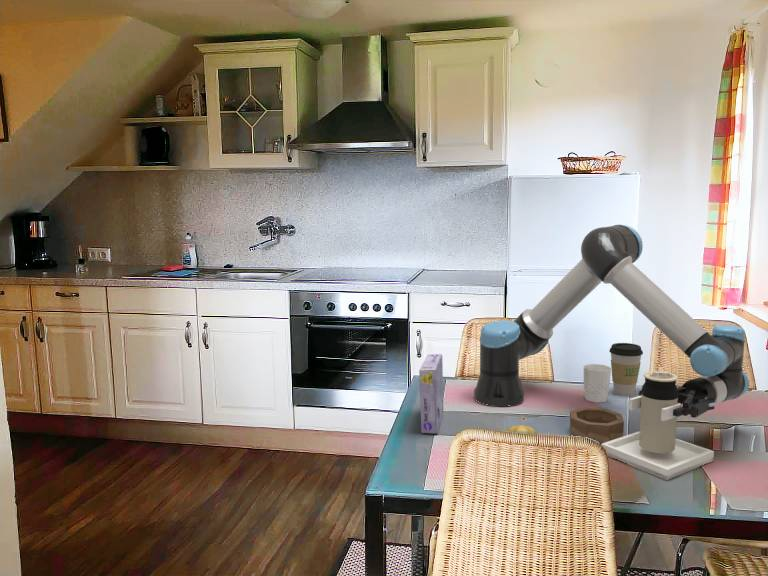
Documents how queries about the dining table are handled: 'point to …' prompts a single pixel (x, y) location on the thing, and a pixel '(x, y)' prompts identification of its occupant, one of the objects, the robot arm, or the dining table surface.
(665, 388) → the travel mug
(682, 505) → the dining table surface
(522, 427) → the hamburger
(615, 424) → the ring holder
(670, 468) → the tray
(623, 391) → the coffee cup
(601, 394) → the white cup
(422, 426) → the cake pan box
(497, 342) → the robot arm
